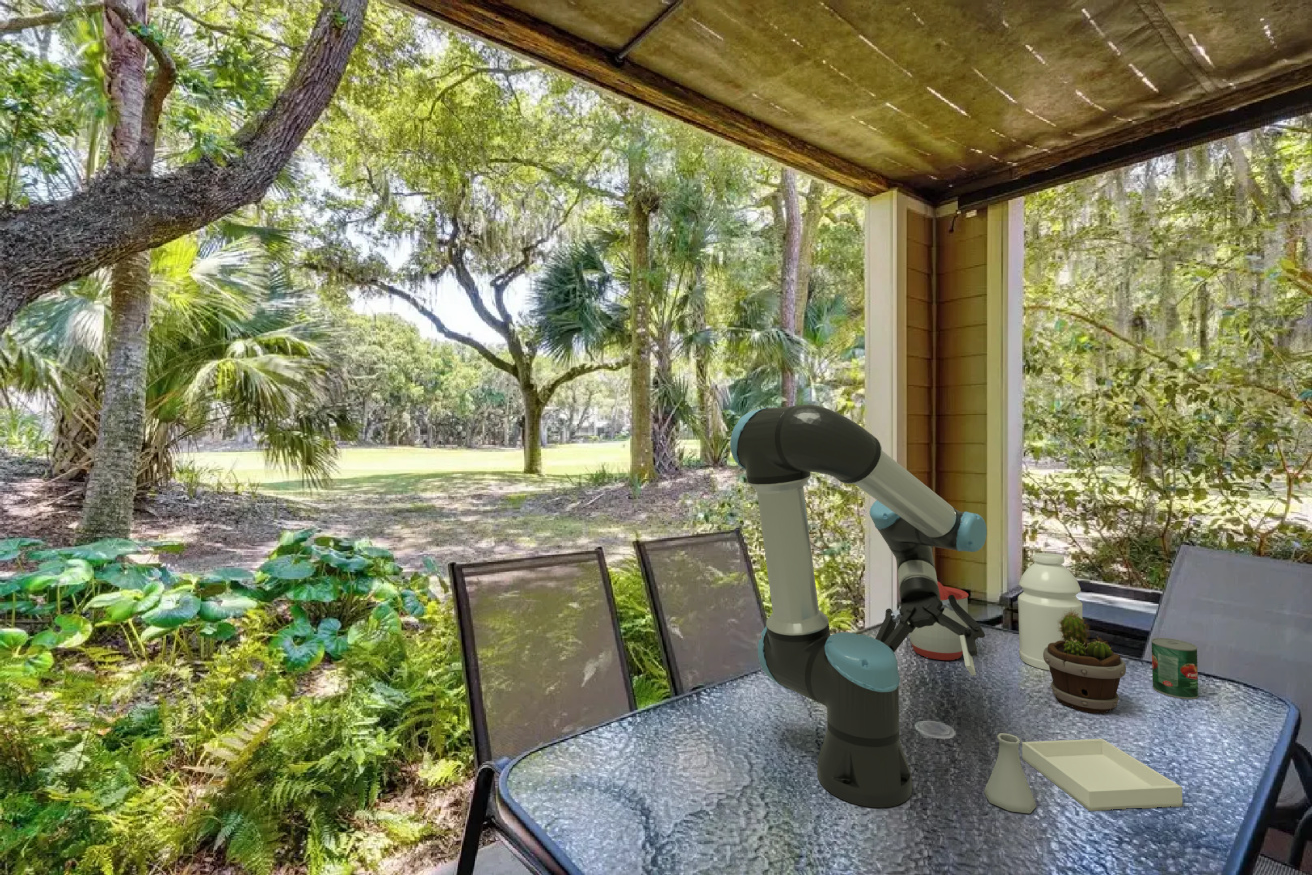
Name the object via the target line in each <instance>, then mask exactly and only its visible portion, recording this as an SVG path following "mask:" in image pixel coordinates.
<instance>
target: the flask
mask: <svg viewBox="0 0 1312 875" xmlns="http://www.w3.org/2000/svg"><path fill="white" fill-rule="evenodd" d="M996 738H997V740H998V743H999V744H998V745H999V747H998V752H997V757H996V758H997V759H996V762H995V764H994V766H993V769H992V772H991V775H990V776H989V778H988V781H987V784H986V786H985V788H984V791H983V794H984V795H985V797H986V798H987V800H988V803H990V804H992V805H993V806H997V807H999V808H1001V809H1004V810H1006V811H1008V812H1014V813H1023V814H1031V813H1032V812H1033V811H1034V810H1035V808H1037V803H1036V800H1035V797H1034V796H1033V793H1032V791H1031V788H1030V786H1029V783H1028V781H1027V777H1026V775H1025V772H1024V770H1023V766H1022V763H1021V759H1020V758H1021V757H1020V753H1019V745H1020V744H1021V740H1020V738H1019V736H1017V735H1013V734H1011V733H1004V732H1003V733H1001V732H1000V733H998V734H997V735H996Z"/></svg>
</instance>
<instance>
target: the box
mask: <svg viewBox="0 0 1312 875" xmlns="http://www.w3.org/2000/svg"><path fill="white" fill-rule="evenodd" d="M1021 749H1022V751H1021V752H1022V753H1021V754H1022V760H1023V761H1025V762H1026V763H1027V764H1028V765H1030V766H1031V767H1032V768H1034V769H1035V770H1037V771H1038V772H1039V773H1040V774H1041V775H1043V776H1044V777H1045V778H1046V779H1048V780H1049V781H1051V783H1053V784H1054V785H1055V786H1057V787H1058V788H1059V789H1060V790H1062V791H1063V792H1064V793H1066V794H1067V795H1068V796H1070V797H1071V799H1073V800H1075V801H1076V802H1077V803H1078V804H1080V805H1081V806H1083V807H1084V808H1085V809H1086V810H1088V811H1089V812H1098V811H1099V812H1100V811H1114V810H1113V809H1122V810H1127V809H1126V808H1142V809H1157V807H1162V808H1181V807H1183V786H1181V785H1180V784H1177V782H1174V781H1173V780H1171V779H1169V778H1168V777H1166V776H1164V775H1163V774H1162V773H1159V772H1158V771H1156V770H1154V769H1153V768H1152V767H1150V766H1147V765H1146V764H1145V763H1143V762H1142V761H1141V760H1138V759H1136V758H1135V757H1133V756H1132V755H1130V754H1129V753H1127V752H1125V751H1123V750H1122V749H1120V748H1118V747H1117V746H1115V745H1113V744H1112V743H1110V742H1109V741H1106V740H1105V739H1103V738H1088V739H1086V738H1085V739H1065V740H1064V739H1062V740H1041V741H1037V740H1036V741H1022V742H1021ZM1170 806H1171V807H1170ZM1111 809H1112V810H1111Z"/></svg>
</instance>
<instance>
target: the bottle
mask: <svg viewBox="0 0 1312 875" xmlns="http://www.w3.org/2000/svg"><path fill="white" fill-rule="evenodd" d="M1032 560H1033V561H1034V562H1033V563H1032V564H1031V565H1029V567H1027V569H1026V570H1025V571H1024V572H1023V573H1022V575H1021V577H1020V580H1019V582H1018V585H1019V587H1021V589H1023V592H1021V593H1020V594H1019V595H1018V596H1017V604H1018V605H1017V607H1018V608H1017V609H1018V639H1019V640H1018V642H1019V643H1018V645H1019V646H1018V648H1019V650H1018V654H1019V658H1020V659H1021V661H1022V662H1023V663H1026V664H1027V665H1030V666H1032V667H1035V668H1037V669H1041V670H1045V671H1050V668H1049V665H1048V664H1046V662H1045V661H1044V658H1043V652H1044V649H1045V648H1046V647H1048V644H1050V643H1056V642H1057V641H1060V640H1061V639H1064V638H1062V636H1063V634H1062V632H1061V631H1060V630H1059V628H1061V625H1060V624H1058V623H1059V621H1060V620H1059V619H1061V618H1060V617H1062V616H1063V617H1064V618H1065V617H1066V616H1065V615H1067V614H1066V613H1068V612H1071V610H1072V613H1073V611H1074V613H1075V614H1078V616H1077V617H1079V618H1081V619H1082V618H1083V608H1084V607H1083V602H1082V601H1080V599H1078V597H1076V596H1077V594H1079V593H1080V592H1081V587H1080V584H1079V582H1078V580H1077V578H1076V577H1075V576H1074V574H1073V573H1072V572H1071V571H1070V570H1069V569H1068V568H1067V567H1066V566H1065V565H1063V564H1065V557H1064V555H1062V554H1057V553H1050V552H1049V553H1048V552H1037V553H1034V554H1033V556H1032ZM1066 611H1067V612H1066ZM1072 613H1068V614H1072ZM1074 613H1073V615H1074ZM1063 617H1062V620H1063ZM1058 626H1059V627H1058ZM1058 630H1059V632H1058ZM1061 630H1062V629H1061ZM1060 634H1061V635H1062V636H1061V635H1060ZM1064 641H1065V640H1064Z"/></svg>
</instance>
